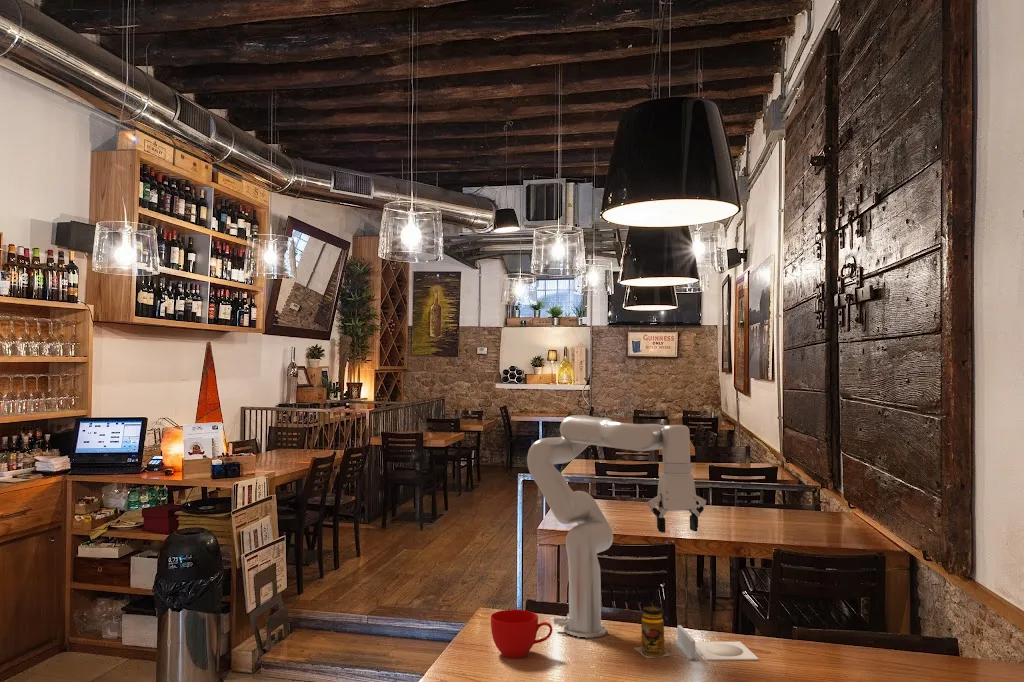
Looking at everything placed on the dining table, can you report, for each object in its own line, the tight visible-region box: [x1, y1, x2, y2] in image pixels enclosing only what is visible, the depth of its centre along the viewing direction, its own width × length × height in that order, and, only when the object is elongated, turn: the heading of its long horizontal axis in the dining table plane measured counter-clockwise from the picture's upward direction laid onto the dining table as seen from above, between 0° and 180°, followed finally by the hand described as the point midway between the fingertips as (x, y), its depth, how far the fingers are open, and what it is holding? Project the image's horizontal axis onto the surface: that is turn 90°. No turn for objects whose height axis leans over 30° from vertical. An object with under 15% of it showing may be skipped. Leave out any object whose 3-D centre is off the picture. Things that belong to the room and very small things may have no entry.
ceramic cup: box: [490, 609, 553, 659], centre depth 193 cm, size 13×17×10 cm
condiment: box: [633, 605, 671, 659], centre depth 195 cm, size 7×8×12 cm
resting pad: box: [695, 641, 760, 662], centre depth 196 cm, size 14×14×1 cm
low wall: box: [673, 624, 700, 662], centre depth 195 cm, size 3×14×5 cm, turn 2°
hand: (677, 531), depth 198 cm, fingers open, 9 cm apart
